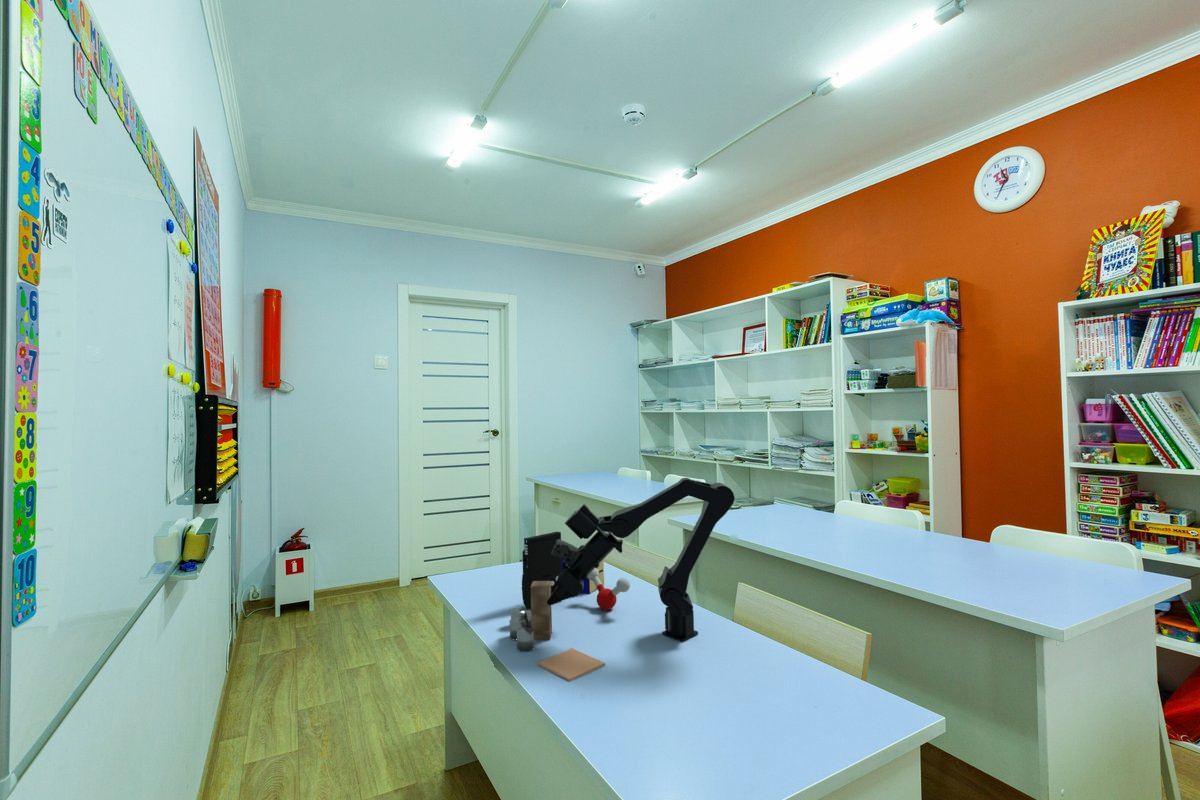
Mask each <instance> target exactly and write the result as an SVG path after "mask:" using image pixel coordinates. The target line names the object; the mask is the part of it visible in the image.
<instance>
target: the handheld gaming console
mask: <svg viewBox="0 0 1200 800" xmlns="http://www.w3.org/2000/svg"><path fill="white" fill-rule="evenodd" d="M557 539H560V540H562V532H561V531H552V532H548V533H542V534H538V535H534V536H529V537H524V538H523V541H524V542H523V544H524V545H523V546H524V547H523V548H524V549H523V550H522V575H521V593H522V602H523V606H524V608H525V609H526V610H528V609H531V585H532V583H533V581H551V589H552V587H553V586H554V584H555V583H556V581H557V578H558V575H559V574H560V573H561V572H562V559H561V558H559V557H555V556H553V555H552V554H551V553H552V550H553V548H554V546H555V544H556V541H557ZM552 593H553V592H552V591H551V594H552Z"/></svg>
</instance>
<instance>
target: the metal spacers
mask: <svg viewBox="0 0 1200 800" xmlns="http://www.w3.org/2000/svg"><path fill="white" fill-rule="evenodd" d="M526 627H527V628H526ZM510 638H511V639H510ZM509 639H510V640H512V639H514V640H513V641H516V646H517V647H516V650H517V649H518V650H517V651H519V650H520V651H519V652H522V651H526V652H530V651H529V650H531V651H533V650H534V649H535V640H534V629H532V626H531V609H526V608H525V607H515V608H512V609H511V610H510V620H509ZM516 639H517V640H516ZM533 648H534V649H533ZM532 649H533V650H532Z"/></svg>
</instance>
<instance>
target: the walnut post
mask: <svg viewBox="0 0 1200 800" xmlns="http://www.w3.org/2000/svg"><path fill="white" fill-rule="evenodd" d="M550 596H551V581H533V583H532V585H531V626H532V629H534V641H551V638H552V635H551V634H553V619H552V613H553V612H552V605H548V604H547V600H548V599H549V597H550Z"/></svg>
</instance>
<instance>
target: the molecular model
mask: <svg viewBox="0 0 1200 800" xmlns="http://www.w3.org/2000/svg"><path fill="white" fill-rule="evenodd" d="M598 577H599V571H598V570H597V569H596V568H595V569H594V570H593V571H592V572H591V573H590V574H589V575H588V579H589V580H591V581H593V582H594V584H595V586H596V587H597V589H596V590H597V591H598V593H597V595H596V603H597V605H598V607H599V608H601V609H602V610H611V609H613V608H614V607H615V606H616V603H617V599H618V598H617V595H619V594H620V593H626V592H628V591H629V589H630V587H631V583H630V580H628V579H627V578H625V577H621V578H619V579H618V580H617V581H616V585H615V587H614V588H605V586H604V585H602V583H601V581H600V579H599V578H598Z"/></svg>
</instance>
